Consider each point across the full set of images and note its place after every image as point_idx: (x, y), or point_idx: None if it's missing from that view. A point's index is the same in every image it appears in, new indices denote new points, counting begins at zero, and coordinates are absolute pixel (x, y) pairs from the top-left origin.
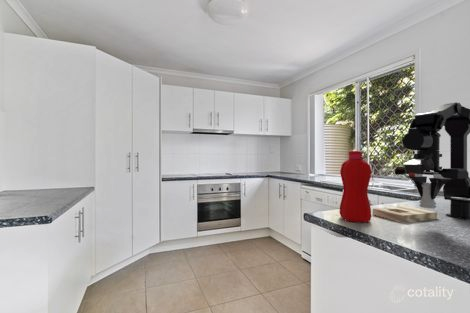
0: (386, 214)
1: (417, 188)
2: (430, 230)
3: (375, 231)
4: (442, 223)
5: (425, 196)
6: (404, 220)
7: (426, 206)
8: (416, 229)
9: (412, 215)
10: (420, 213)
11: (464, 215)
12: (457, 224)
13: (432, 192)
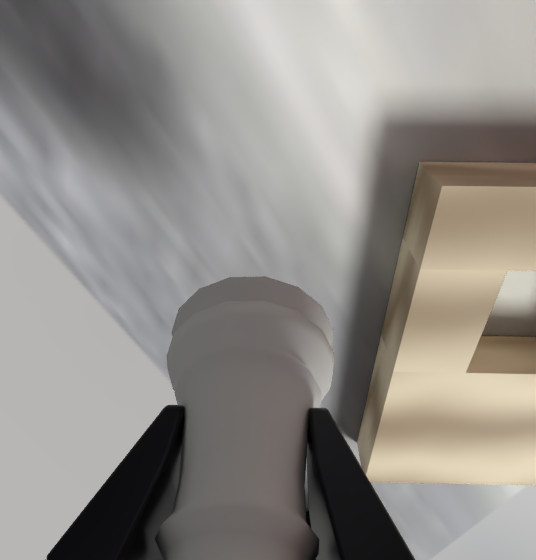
0: None
1: (399, 545)
2: (190, 157)
3: None
4: None
5: (234, 405)
6: (420, 190)
7: (214, 285)
8: (242, 64)
9: (409, 298)
10: (398, 384)
11: None
12: None
13: (116, 493)
